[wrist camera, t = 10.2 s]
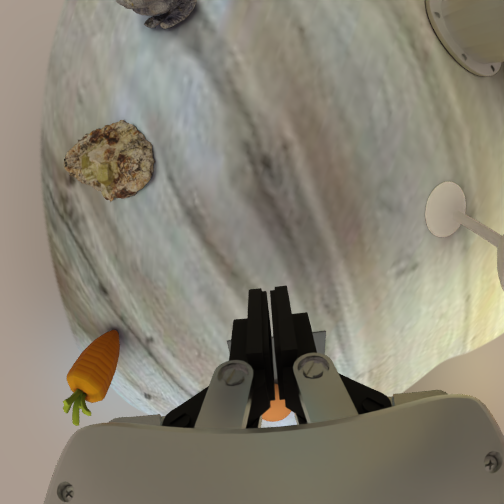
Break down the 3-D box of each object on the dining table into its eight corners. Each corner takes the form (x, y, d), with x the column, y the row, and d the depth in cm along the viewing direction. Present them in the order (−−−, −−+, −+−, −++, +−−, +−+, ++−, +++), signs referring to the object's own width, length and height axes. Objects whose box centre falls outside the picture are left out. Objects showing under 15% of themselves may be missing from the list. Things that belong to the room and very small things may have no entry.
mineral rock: (156, 116, 20) (137, 208, 21) (170, 130, 25) (154, 208, 26) (65, 116, 20) (48, 194, 21) (86, 126, 24) (71, 195, 25)
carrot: (105, 310, 31) (49, 396, 18) (137, 330, 32) (93, 424, 19) (97, 331, 33) (49, 412, 19) (126, 350, 34) (87, 436, 20)
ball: (292, 422, 34) (290, 387, 38) (297, 417, 30) (294, 377, 34) (253, 424, 34) (253, 389, 38) (252, 419, 30) (251, 379, 34)
